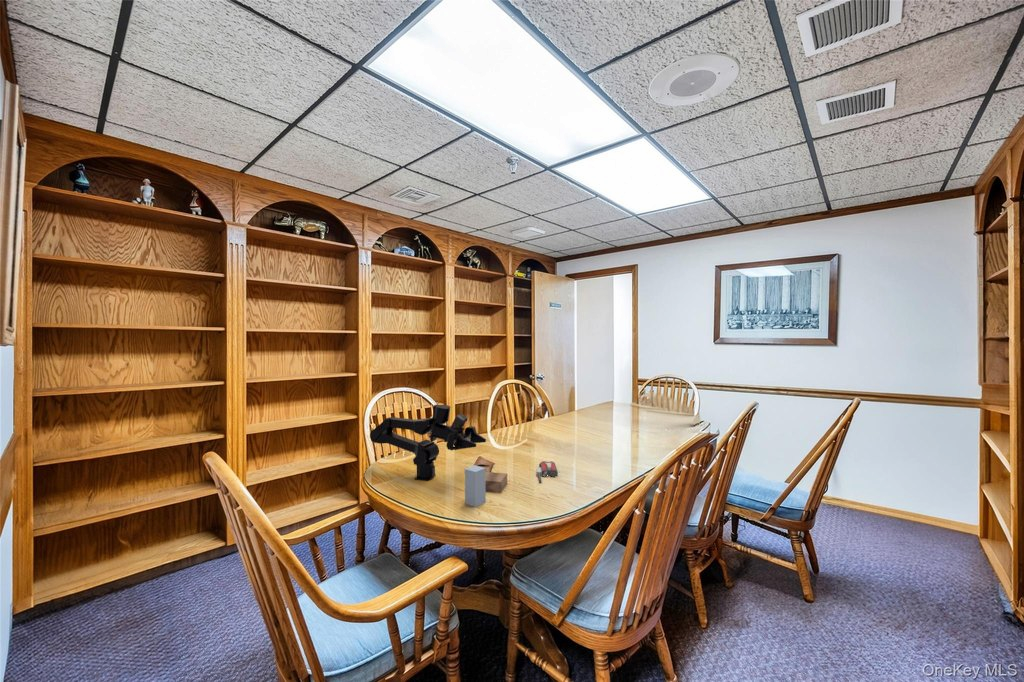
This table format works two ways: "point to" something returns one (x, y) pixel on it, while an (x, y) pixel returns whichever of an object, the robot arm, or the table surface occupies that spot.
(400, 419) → the robot arm
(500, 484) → the walnut base
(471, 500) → the slate block
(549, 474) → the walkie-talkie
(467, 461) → the table surface
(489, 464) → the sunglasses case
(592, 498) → the table surface
